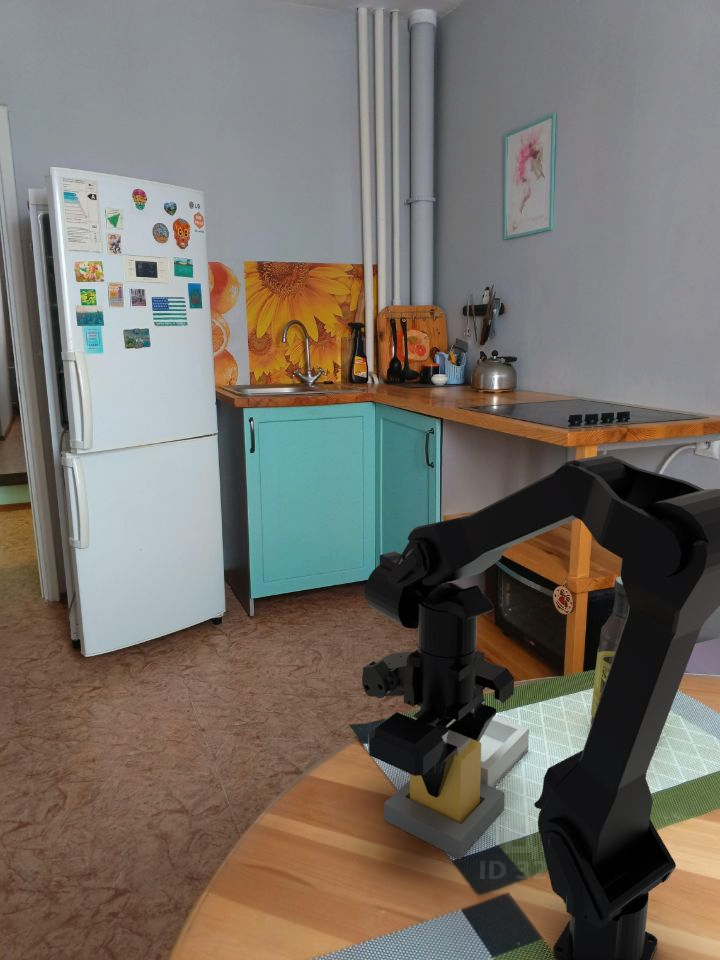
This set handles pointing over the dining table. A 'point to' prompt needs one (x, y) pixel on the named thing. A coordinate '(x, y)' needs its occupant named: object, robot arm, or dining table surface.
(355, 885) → the dining table surface
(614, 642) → the sauce bottle
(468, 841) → the grey square frame
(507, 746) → the tray
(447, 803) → the block
